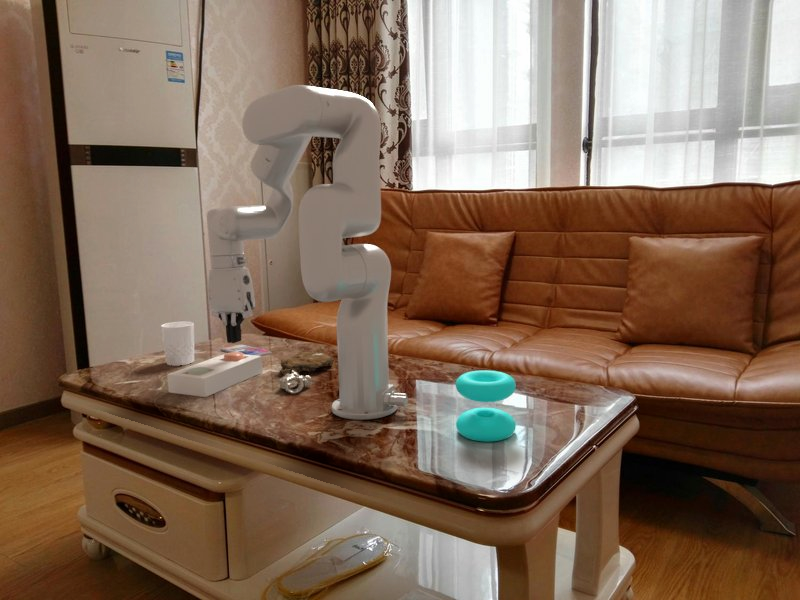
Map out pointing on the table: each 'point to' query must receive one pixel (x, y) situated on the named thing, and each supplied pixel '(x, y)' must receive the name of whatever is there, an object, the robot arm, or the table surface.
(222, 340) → the table surface
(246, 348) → the smartphone
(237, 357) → the terracotta button
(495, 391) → the donuts
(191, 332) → the white cup
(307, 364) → the decorative rock
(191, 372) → the sage button
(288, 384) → the ornament
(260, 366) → the button box
